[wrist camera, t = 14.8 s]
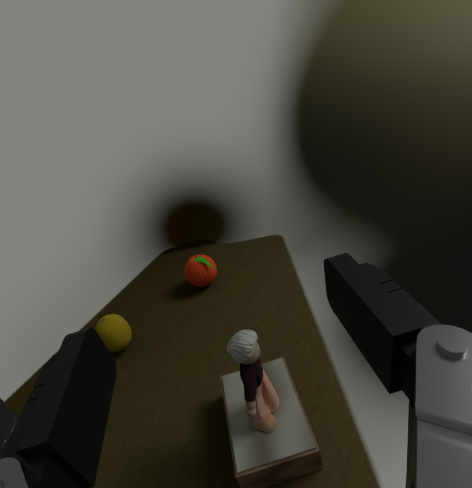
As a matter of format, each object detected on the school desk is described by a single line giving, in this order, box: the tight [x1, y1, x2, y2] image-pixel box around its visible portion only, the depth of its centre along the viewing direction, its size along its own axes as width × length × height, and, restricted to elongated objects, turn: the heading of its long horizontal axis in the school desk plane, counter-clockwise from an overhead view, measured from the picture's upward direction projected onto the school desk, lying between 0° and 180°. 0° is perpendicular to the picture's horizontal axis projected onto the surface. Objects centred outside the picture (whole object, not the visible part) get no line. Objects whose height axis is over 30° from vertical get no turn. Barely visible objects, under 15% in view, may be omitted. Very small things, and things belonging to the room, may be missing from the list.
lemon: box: [95, 314, 131, 352], centre depth 53 cm, size 6×6×8 cm
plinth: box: [220, 357, 323, 488], centre depth 37 cm, size 9×12×4 cm
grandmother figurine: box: [227, 330, 279, 433], centre depth 32 cm, size 8×4×13 cm, turn 7°
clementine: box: [184, 255, 217, 287], centre depth 64 cm, size 8×7×7 cm
